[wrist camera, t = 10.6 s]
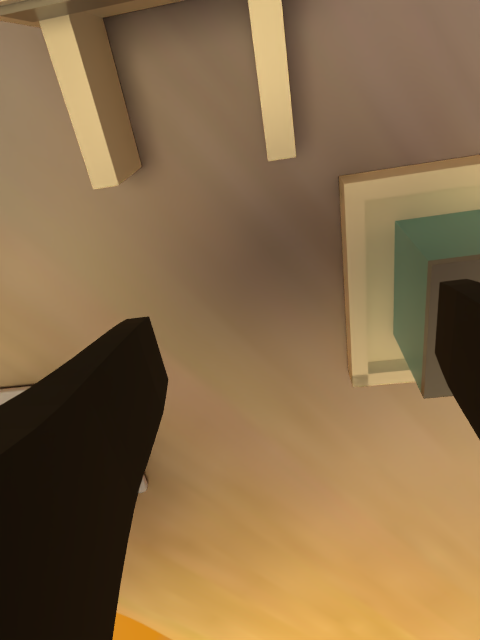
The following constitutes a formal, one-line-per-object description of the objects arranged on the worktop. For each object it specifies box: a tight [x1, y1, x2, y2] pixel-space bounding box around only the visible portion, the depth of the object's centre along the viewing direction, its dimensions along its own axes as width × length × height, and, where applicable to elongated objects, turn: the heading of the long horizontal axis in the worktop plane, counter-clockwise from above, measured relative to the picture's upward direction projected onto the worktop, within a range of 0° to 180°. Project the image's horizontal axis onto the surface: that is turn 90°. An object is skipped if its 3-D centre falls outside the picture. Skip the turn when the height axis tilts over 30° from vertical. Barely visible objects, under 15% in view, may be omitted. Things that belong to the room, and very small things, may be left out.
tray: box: [339, 155, 480, 387], centre depth 20 cm, size 11×9×2 cm
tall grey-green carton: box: [393, 209, 480, 399], centre depth 18 cm, size 6×4×5 cm, turn 9°
